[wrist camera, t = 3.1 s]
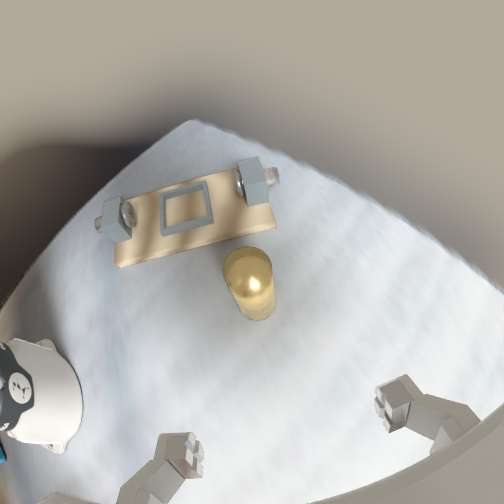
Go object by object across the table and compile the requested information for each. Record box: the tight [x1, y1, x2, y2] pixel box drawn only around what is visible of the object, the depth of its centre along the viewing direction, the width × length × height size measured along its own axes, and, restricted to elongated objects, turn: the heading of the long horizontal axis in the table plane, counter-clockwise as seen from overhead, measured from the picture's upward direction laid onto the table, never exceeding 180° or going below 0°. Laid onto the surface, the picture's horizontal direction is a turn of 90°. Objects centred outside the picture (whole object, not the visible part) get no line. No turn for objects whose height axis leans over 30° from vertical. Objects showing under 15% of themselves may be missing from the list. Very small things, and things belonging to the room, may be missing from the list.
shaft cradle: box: [95, 157, 280, 268], centre depth 38 cm, size 28×12×6 cm, turn 103°
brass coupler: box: [223, 247, 275, 321], centre depth 29 cm, size 4×4×10 cm
